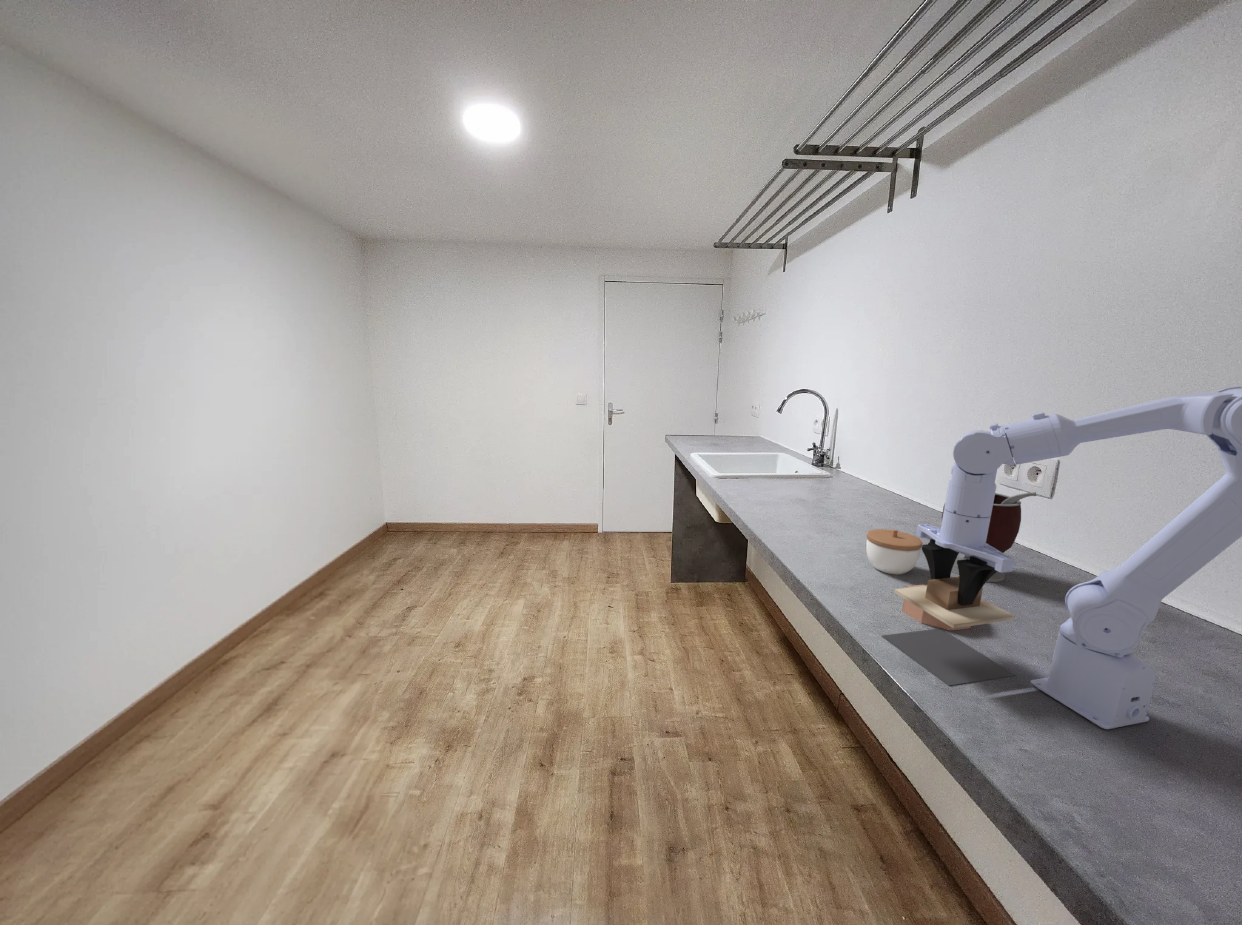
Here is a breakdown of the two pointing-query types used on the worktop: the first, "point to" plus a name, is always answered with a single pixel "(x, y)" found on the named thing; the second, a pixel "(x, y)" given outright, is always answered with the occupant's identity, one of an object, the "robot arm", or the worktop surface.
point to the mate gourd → (1001, 527)
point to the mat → (947, 657)
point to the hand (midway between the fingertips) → (951, 596)
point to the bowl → (924, 615)
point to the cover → (952, 604)
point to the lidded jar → (892, 550)
